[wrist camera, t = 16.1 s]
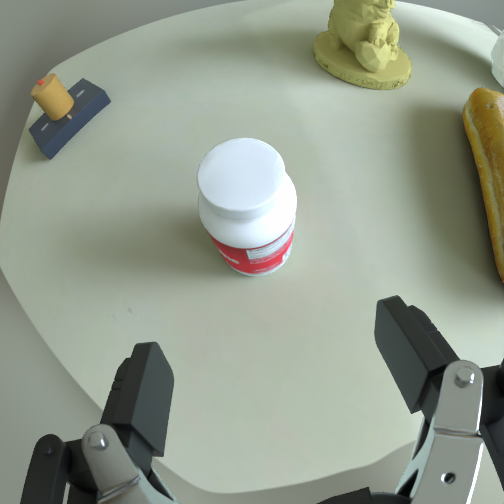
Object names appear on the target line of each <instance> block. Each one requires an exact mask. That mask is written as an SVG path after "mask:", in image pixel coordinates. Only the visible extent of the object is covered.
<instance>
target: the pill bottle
mask: <svg viewBox="0 0 504 504" xmlns="http://www.w3.org/2000/svg"><path fill="white" fill-rule="evenodd" d="M197 183H198V187H199V190H200V192H199V196H198V211H199V215H200V218H201V221H202V223H203V225H204V227H205V229H206V230H207V232H208V233H209V235H210V237H211V238H212V240H213V242H214V243H215V245H216V247H217V248H218V250H219V252H220V253H221V255H222V257H223V258H224V260H225V261H226V262H227V263H228V265H229V266H230V267H231V268H233V269H234V270H235V271H237V272H239V273H241V274H244V275H248V276H262V275H266V274H269V273H272V272H273V271H275V270H277V269H278V268H279V267H281V266H282V265H283V263H284V262H285V261H286V259H287V258H288V256H289V254H290V251H291V247H292V242H293V232H294V224H295V215H296V207H297V198H296V192H295V188H294V186H293V183H292V181H291V179H290V178H289V176H288V175H287V174H286V173H285V167H284V163H283V160H282V158H281V156H280V155H279V153H278V152H277V151H276V150H275V149H274V148H273V147H271V146H270V145H268V144H266V143H265V142H262V141H260V140H257V139H251V138H236V139H231V140H228V141H225V142H222V143H220V144H219V145H217V146H215V147H214V148H213V149H211V150H210V151H209V152H208V153H207V154H206V155H205V157H204V158H203V159H202V161H201V163H200V165H199V168H198V173H197Z"/></svg>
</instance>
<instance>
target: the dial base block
mask: <svg viewBox="0 0 504 504" xmlns="http://www.w3.org/2000/svg"><path fill="white" fill-rule="evenodd" d="M67 92H68V93H69V94H70V96H71V97H72V99H73V100H74V104H73V106H72V108H71V109H70V111H69V112H68V113H67V114H66V115H65V116H63V117H62V118H60V119H59V120H56V121H52V120H51V119H50V118H49V117H48V115H47V114H46V113H44V114H43V115H42V116H41V117H40V118H39V119H38V120H37V121H36V122H35V123H34V124H33V125H32V126H31V127H30V128H29V131H30V133H31V135H32V136H33V138H34V140H35V141H36V143H37V145H38V146H39V148H40V149H41V151H42V152H43V153H44V154H45V155H46V156H47V157H48V158H49V159H52V158H53V157H54V155H55V154H56V153H57V152H58V151H59V150H60V149H61V148H62V147H63V146H64V145H65V144H66V143H67V142H68V141H69V140H70V139H71V138H72V137H73V136H74V135H75V134H76V133H77V132H78V131H79V130H80V129H81V128H82V127H83V126H84V125H85V124H86V123H87V122H88V121H89V120H91V119H92V118H93V117H94V116H95V115H96V114H97V113H98V112H99V111H101V110H102V109H103V108H104V107H105V106H106V105H108V104H109V103H110V102H111V101H110V99H109V97H108V96H107V94H106V92H105V91H104V90H103V89H101V88H99V87H98V86H96V85H94V84H92V83H91V82H89V81H87V80H85V79H84V78H82V79H81V80H80V81H79V82H77V83H76V84H75V85H74V86H73V87H72V88H70V89H69V90H68V91H67Z"/></svg>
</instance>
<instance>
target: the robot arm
mask: <svg viewBox="0 0 504 504" xmlns="http://www.w3.org/2000/svg"><path fill="white" fill-rule="evenodd" d="M374 335H375V341H376V344H377V347H378V349H379V351H380V353H381V355H382V357H383V358H384V360H385V362H386V364H387V366H388V368H389V370H390V372H391V374H392V376H393V378H394V380H395V382H396V384H397V386H398V388H399V390H400V392H401V394H402V396H403V398H404V400H405V402H406V404H407V406H408V408H409V410H410V412H411V414H412V413H415V412H417V411H420V410H422V412H423V414H424V417H423V420H422V423H421V427H420V430H419V433H418V437H417V440H416V443H415V446H414V449H413V452H412V455H411V458H410V460H409V463H408V465H407V467H406V470H405V471H404V473H403V475H402V477H401V479H400V481H399V483H398V486H397V488H396V490H395V493H386V492H372V493H370V490H369V487H366V488H363V489H360V490H356V491H353V492H350V493H346V494H342V495H338V496H334V497H331V498H329V499H326V500H324V501H322V502H320V503H317V504H469V502H470V498H471V495H472V491H473V488H474V484H475V480H476V476H477V472H478V468H479V463H480V459H481V454H482V448H483V440H484V442H485V445H486V447H487V449H488V452H489V454H490V456H491V459H492V461H493V464H494V466H495V469H496V471H497V474H498V476H499V479H500V482H501V485H502V488H503V491H504V359H503V361H502V363H501V365H497V366H491V367H485V368H479V367H478V366H477V365H476V364H475V363H473V362H471V361H467V360H460V359H459V358H458V356H457V355H456V353H455V352H454V351H453V349H452V348H451V347H450V345H449V344H448V343H447V341H446V340H445V339H444V337H443V336H442V335H441V333H440V332H439V331H437V328H436V327H435V325H434V324H433V323H431V320H430V319H429V318H428V316H427V315H426V314H425V313H424V312H423V311H422V310H420V309H418V308H417V307H415V306H413V305H411V306H408V307H407V305H406V304H405V303H404V301H403V300H402V299H401V298H400V297H399V296H398V295H396V296H392V297H389V298H385V299H381V300H378V302H377V308H376V320H375V331H374ZM114 380H115V381H113V384H112V387H111V389H112V390H110V393H109V396H108V399H107V402H106V406H105V409H104V412H103V415H102V418H101V421H100V424H98V425H95V426H92V427H91V428H90V429H88V430H87V431H86V432H85V434H84V436H83V437H82V439H78V440H73V441H68V442H63V441H62V440H61V439H60V438H59V437H57V436H56V435H53V434H48V435H45V436H43V437H42V438H40V439H39V441H38V442H37V443H36V445H35V448H34V452H33V455H32V458H31V462H30V465H29V469H28V472H27V476H26V480H25V484H24V488H23V493H22V498H21V502H20V504H62V503H63V497H64V491H65V486H66V483H68V484H69V485H70V489H69V494H68V500H67V504H181V503H180V502H179V501H178V500H177V499H176V498H175V496H174V495H173V493H172V492H171V491H170V490H169V488H168V487H167V485H166V484H165V483H164V481H163V480H162V478H161V477H160V475H159V474H158V473H157V471H156V470H155V468H154V467H153V465H152V464H151V462H152V456H154V457H163V456H164V448H165V440H166V433H167V426H168V419H169V412H170V406H171V399H172V393H173V387H174V376H173V372H172V369H171V367H170V365H169V363H168V361H167V360H166V358H165V356H164V354H163V352H162V350H161V348H160V346H159V345H158V343H157V342H146V343H137V344H136V345H135V346H134V349H133V352H132V355H131V358H126V359H125V360H124V361H123V363H122V364H121V365H120V366H119V368H118V370H117V373H116V376H115V379H114ZM478 429H479V431H480V433H481V435H479V434H478Z"/></svg>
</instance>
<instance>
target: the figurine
mask: <svg viewBox="0 0 504 504" xmlns="http://www.w3.org/2000/svg"><path fill="white" fill-rule="evenodd" d="M390 8H391V9H395V2H394V0H334V7H333V9H332V10H331V12H330V16H329V18H330V20H329V23H328V28H329V30H328V31H325V32H322V33H321V34H319V35H318V36H317V38H316V39H315V42H314V45H313V50H314V52H313V53H314V56H315V59H316V61H317V62H318V64H319V65H320V66H321V67H322V68H323V69H325V70H326V71H327V72H329V73H330V74H332V75H333V76H336V77H338V78H340V79H342V80H344V81H346V82H349V83H352V84H355V85H358V86H361V87H365V88H371V89H379V90H389V89H396V88H399V87H401V86H403V85H404V84H406V82H407V81H408V79H409V78H410V76H411V70H412V64H411V60H410V58H409V57H408V56H407V54H406V53H405V52H404V51H403V50H402V49H401V47H399V46H398V45H397V42H398V40H399V27H398V24H397V23H396V22H395V20H394V19H393V17H392V16H391V13H390Z"/></svg>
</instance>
